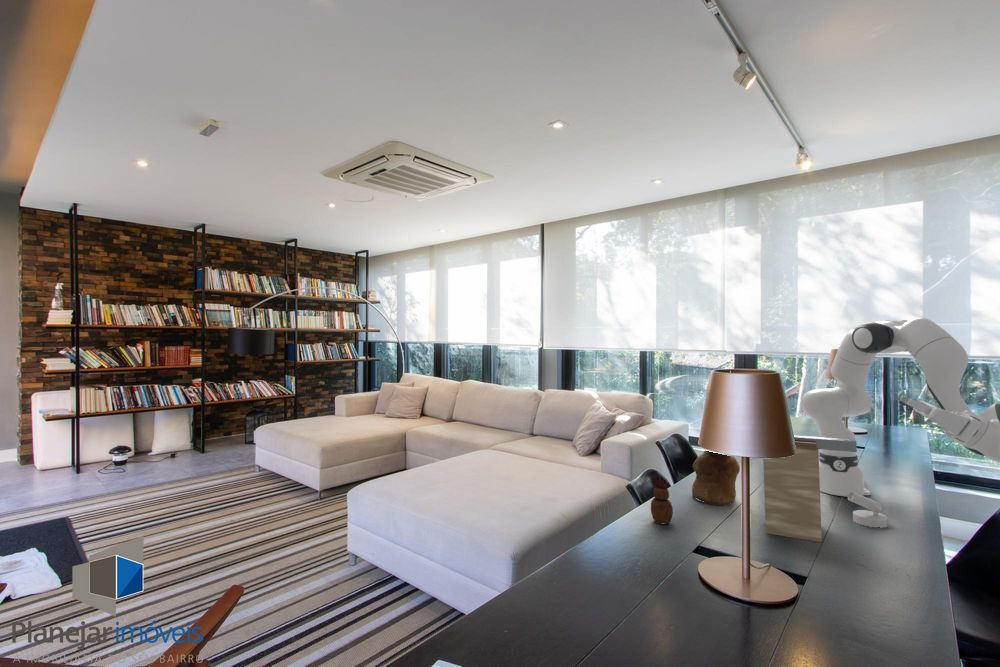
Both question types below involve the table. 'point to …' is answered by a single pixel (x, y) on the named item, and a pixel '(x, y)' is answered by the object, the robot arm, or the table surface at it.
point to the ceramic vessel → (715, 478)
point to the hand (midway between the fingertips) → (904, 399)
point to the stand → (793, 494)
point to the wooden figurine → (661, 503)
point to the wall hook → (868, 512)
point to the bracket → (830, 443)
